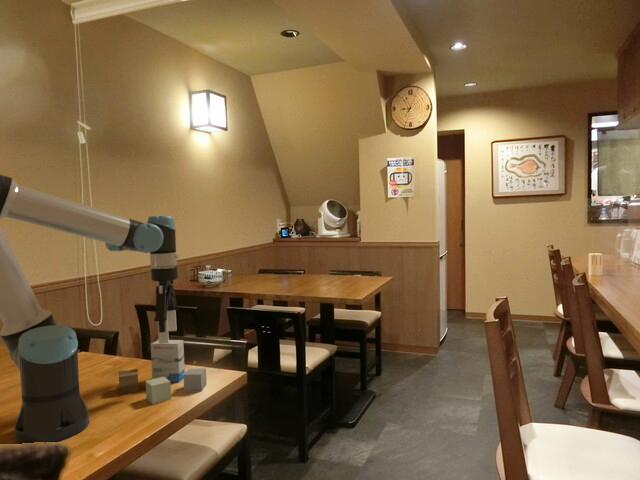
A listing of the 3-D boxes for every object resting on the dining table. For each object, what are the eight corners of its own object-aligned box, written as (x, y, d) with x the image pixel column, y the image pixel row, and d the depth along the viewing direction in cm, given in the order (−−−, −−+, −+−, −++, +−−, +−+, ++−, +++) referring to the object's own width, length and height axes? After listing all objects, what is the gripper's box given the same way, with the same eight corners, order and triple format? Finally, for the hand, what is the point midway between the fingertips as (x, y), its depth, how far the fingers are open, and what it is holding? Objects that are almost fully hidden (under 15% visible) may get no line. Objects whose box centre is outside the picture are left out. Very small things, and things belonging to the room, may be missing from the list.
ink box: (185, 376, 141) (184, 339, 140) (179, 382, 136) (177, 343, 135) (159, 376, 142) (157, 339, 141) (151, 382, 137) (150, 343, 136)
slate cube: (201, 391, 129) (200, 374, 128) (184, 391, 129) (183, 374, 128) (206, 385, 134) (205, 368, 133) (189, 385, 134) (188, 368, 133)
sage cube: (171, 399, 124) (170, 381, 123) (152, 404, 120) (151, 385, 120) (164, 394, 127) (163, 376, 127) (146, 398, 124) (145, 380, 124)
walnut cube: (138, 391, 130) (137, 374, 130) (119, 394, 128) (118, 376, 128) (138, 385, 135) (137, 368, 134) (119, 388, 133) (118, 371, 133)
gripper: (169, 271, 125) (173, 347, 127) (183, 262, 150) (186, 325, 151) (140, 272, 124) (145, 349, 125) (159, 263, 149) (163, 327, 150)
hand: (168, 336), depth 138 cm, fingers open, 13 cm apart
